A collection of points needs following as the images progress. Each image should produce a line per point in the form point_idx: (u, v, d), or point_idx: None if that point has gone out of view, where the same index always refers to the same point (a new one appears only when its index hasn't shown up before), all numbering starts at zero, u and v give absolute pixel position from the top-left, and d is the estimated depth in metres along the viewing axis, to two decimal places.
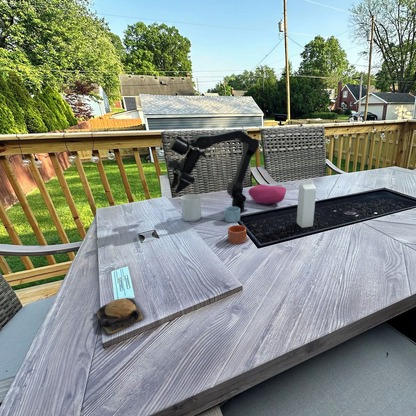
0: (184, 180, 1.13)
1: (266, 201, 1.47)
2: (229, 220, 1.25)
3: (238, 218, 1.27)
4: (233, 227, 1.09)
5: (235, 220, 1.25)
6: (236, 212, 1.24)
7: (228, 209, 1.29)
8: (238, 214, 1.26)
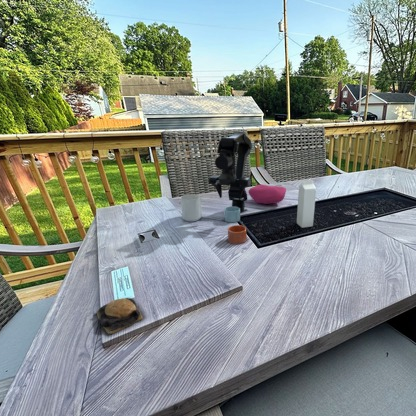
0: (246, 185, 1.21)
1: (266, 201, 1.47)
2: (229, 220, 1.25)
3: (238, 218, 1.27)
4: (233, 227, 1.09)
5: (235, 220, 1.25)
6: (236, 212, 1.24)
7: (228, 209, 1.29)
8: (238, 214, 1.26)
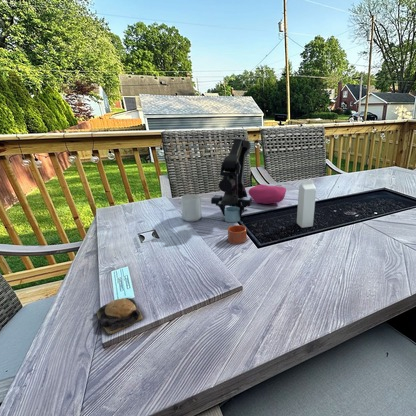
0: None
1: (266, 201, 1.47)
2: (229, 220, 1.25)
3: (238, 218, 1.27)
4: (233, 227, 1.09)
5: (235, 220, 1.25)
6: (236, 212, 1.24)
7: (228, 209, 1.29)
8: (238, 214, 1.26)
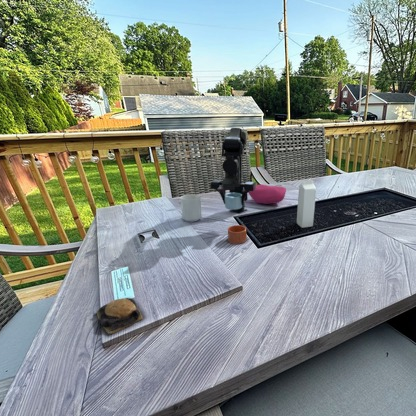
0: None
1: (266, 201, 1.47)
2: (230, 207, 1.12)
3: (240, 205, 1.14)
4: (233, 227, 1.09)
5: (237, 207, 1.13)
6: (238, 198, 1.12)
7: (229, 195, 1.17)
8: (240, 200, 1.13)
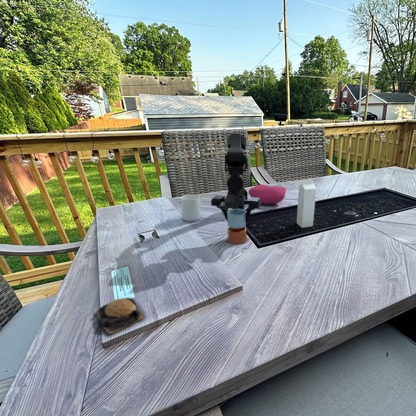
0: None
1: (266, 201, 1.47)
2: (233, 226, 1.02)
3: (244, 223, 1.04)
4: None
5: (240, 225, 1.03)
6: (242, 216, 1.02)
7: (232, 212, 1.07)
8: (244, 218, 1.03)
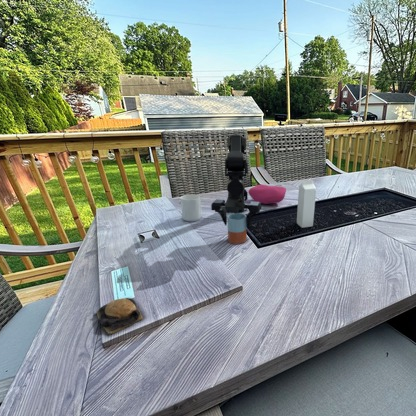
0: None
1: (266, 201, 1.47)
2: (233, 230, 1.03)
3: (244, 227, 1.05)
4: None
5: (240, 230, 1.03)
6: (242, 220, 1.02)
7: (232, 216, 1.07)
8: (244, 222, 1.04)
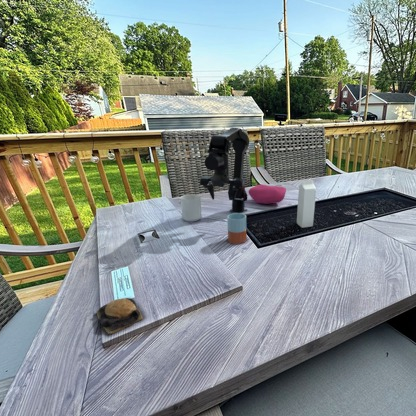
0: None
1: (266, 201, 1.47)
2: (233, 230, 1.03)
3: (244, 227, 1.05)
4: None
5: (240, 230, 1.03)
6: (242, 220, 1.02)
7: (232, 216, 1.07)
8: (244, 222, 1.04)
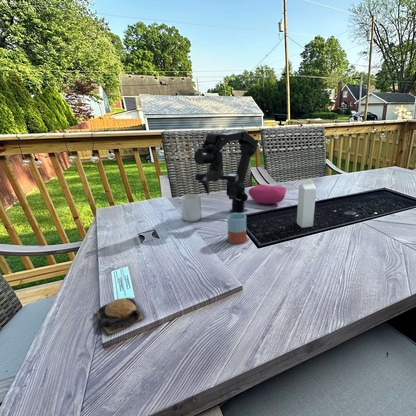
0: (233, 181, 1.21)
1: (266, 201, 1.47)
2: (233, 230, 1.03)
3: (244, 227, 1.05)
4: None
5: (240, 230, 1.03)
6: (242, 220, 1.02)
7: (232, 216, 1.07)
8: (244, 222, 1.04)
